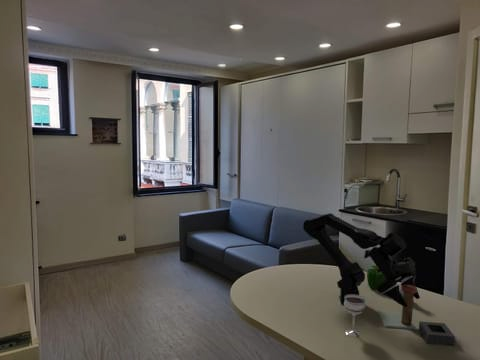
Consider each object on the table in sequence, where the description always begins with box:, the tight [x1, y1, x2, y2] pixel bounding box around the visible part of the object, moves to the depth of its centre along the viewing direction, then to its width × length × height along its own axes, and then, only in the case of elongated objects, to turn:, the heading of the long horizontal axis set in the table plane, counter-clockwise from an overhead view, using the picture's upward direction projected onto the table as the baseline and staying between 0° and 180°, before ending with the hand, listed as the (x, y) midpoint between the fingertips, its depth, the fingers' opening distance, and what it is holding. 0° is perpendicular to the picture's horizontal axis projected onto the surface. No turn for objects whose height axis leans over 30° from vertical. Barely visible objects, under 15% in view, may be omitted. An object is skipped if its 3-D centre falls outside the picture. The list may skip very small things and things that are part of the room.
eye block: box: [418, 320, 456, 346], centre depth 117 cm, size 8×8×3 cm
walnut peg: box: [401, 285, 418, 326], centre depth 124 cm, size 5×5×13 cm
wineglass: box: [343, 294, 366, 338], centre depth 119 cm, size 7×7×12 cm
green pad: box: [377, 310, 416, 330], centre depth 128 cm, size 10×10×1 cm
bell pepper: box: [366, 264, 386, 290], centre depth 154 cm, size 8×8×10 cm
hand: (412, 302), depth 123 cm, fingers open, 9 cm apart
